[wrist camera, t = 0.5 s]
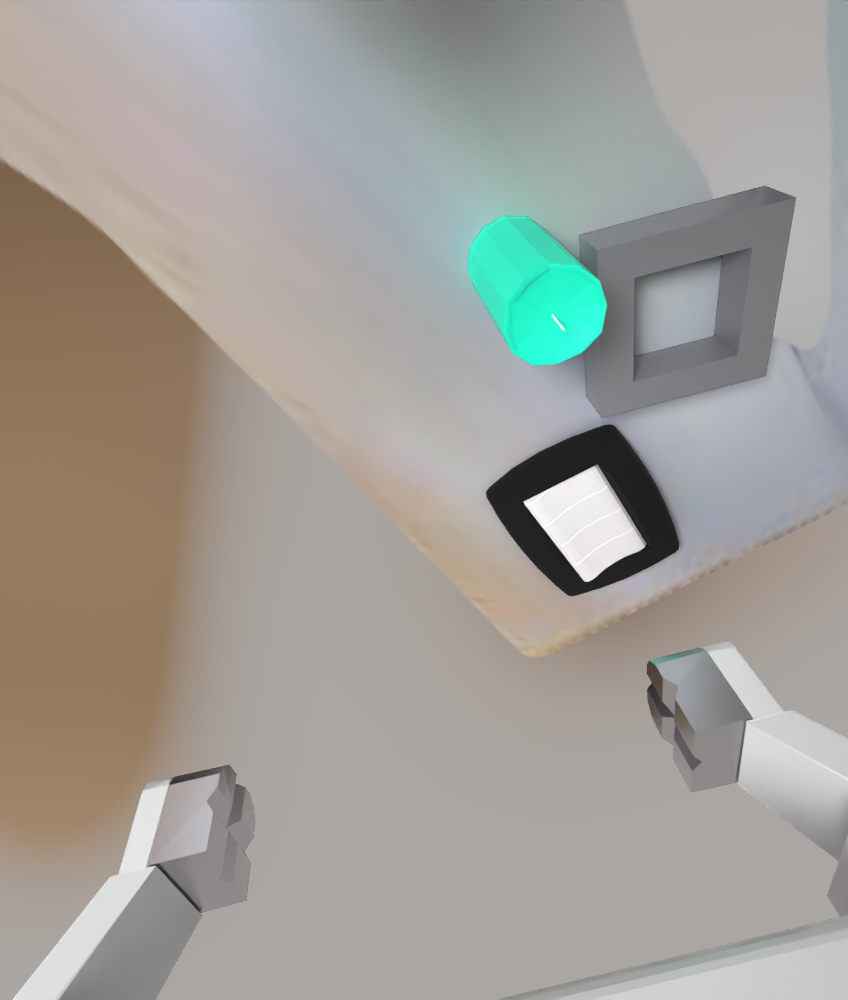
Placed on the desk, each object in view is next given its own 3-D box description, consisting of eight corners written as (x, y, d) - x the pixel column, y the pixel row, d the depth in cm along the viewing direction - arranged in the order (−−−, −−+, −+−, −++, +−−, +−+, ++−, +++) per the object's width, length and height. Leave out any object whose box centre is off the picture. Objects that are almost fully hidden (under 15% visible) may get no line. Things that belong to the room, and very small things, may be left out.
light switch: (474, 502, 53) (623, 424, 49) (470, 481, 55) (612, 405, 51) (568, 612, 65) (695, 558, 60) (561, 591, 67) (684, 537, 62)
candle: (565, 229, 41) (637, 290, 32) (530, 312, 45) (586, 389, 35) (485, 202, 40) (537, 259, 30) (455, 291, 43) (493, 366, 34)
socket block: (579, 235, 42) (597, 250, 39) (764, 185, 41) (796, 197, 39) (586, 396, 50) (601, 417, 47) (740, 356, 49) (765, 375, 47)
